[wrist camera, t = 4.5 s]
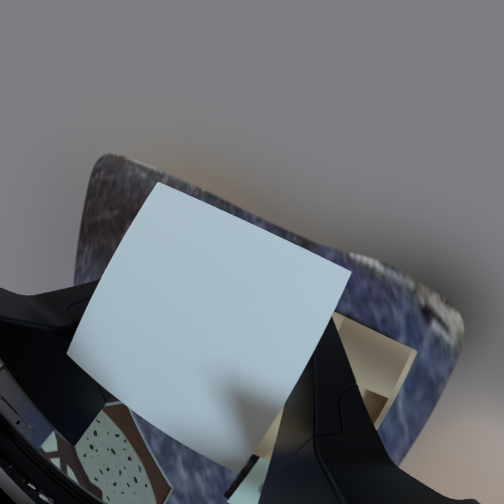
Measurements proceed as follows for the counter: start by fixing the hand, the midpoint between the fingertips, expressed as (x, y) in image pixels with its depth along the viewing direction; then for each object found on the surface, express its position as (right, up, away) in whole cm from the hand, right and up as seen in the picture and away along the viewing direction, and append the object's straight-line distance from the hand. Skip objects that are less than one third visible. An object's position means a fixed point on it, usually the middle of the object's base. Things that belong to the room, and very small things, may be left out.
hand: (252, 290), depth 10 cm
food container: (-12, -17, +10) cm, 23 cm away
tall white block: (0, -3, +6) cm, 6 cm away
